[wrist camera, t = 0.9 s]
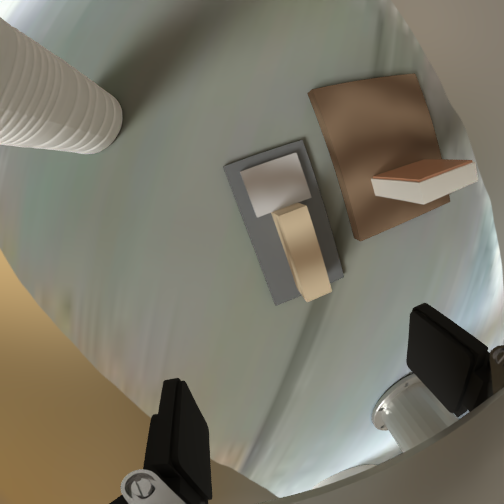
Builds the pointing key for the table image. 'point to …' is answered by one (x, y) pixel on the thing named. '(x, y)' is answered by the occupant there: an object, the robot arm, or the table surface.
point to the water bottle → (51, 100)
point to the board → (376, 144)
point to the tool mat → (266, 231)
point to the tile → (425, 180)
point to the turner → (290, 219)
